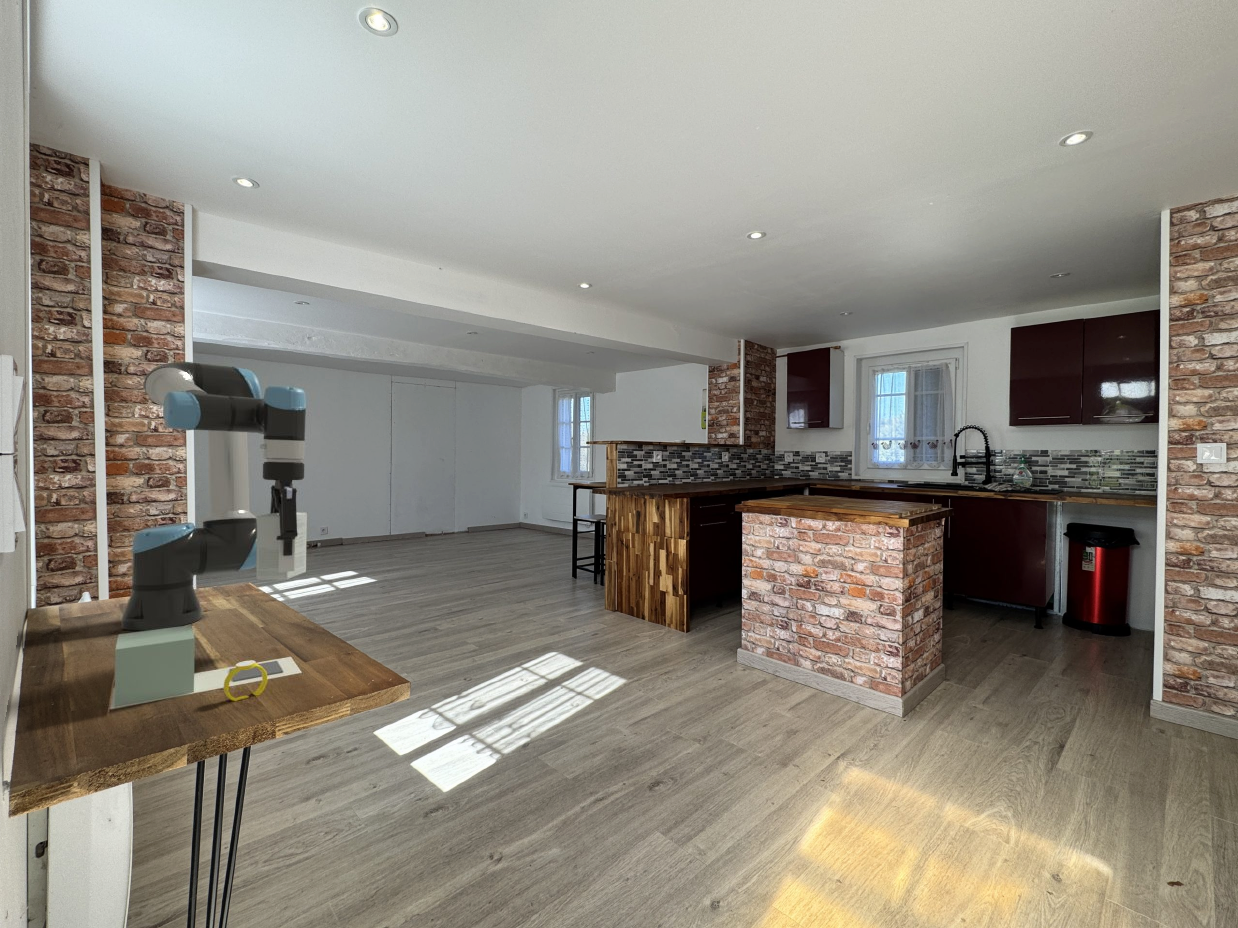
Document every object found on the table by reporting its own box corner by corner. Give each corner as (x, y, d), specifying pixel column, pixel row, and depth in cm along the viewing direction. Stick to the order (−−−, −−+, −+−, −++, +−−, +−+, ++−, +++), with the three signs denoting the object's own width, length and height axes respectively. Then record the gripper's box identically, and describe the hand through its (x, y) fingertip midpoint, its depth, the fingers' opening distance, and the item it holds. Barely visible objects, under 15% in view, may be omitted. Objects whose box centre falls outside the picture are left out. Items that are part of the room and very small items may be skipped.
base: (113, 688, 98) (113, 685, 98) (290, 658, 115) (290, 655, 115) (109, 710, 89) (110, 706, 89) (301, 674, 106) (302, 670, 106)
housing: (117, 687, 98) (118, 634, 98) (190, 674, 104) (191, 624, 104) (114, 707, 90) (115, 649, 90) (193, 692, 96) (194, 638, 96)
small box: (276, 571, 125) (278, 511, 125) (306, 572, 125) (308, 512, 125) (254, 579, 117) (256, 515, 117) (286, 580, 117) (288, 515, 117)
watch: (228, 708, 92) (226, 671, 92) (222, 703, 94) (220, 667, 93) (270, 694, 96) (267, 659, 96) (263, 690, 98) (261, 655, 98)
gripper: (255, 459, 127) (253, 560, 127) (271, 461, 110) (269, 578, 110) (294, 460, 132) (292, 557, 132) (315, 462, 114) (313, 574, 114)
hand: (281, 567), depth 121 cm, fingers closed on small box, 10 cm apart
